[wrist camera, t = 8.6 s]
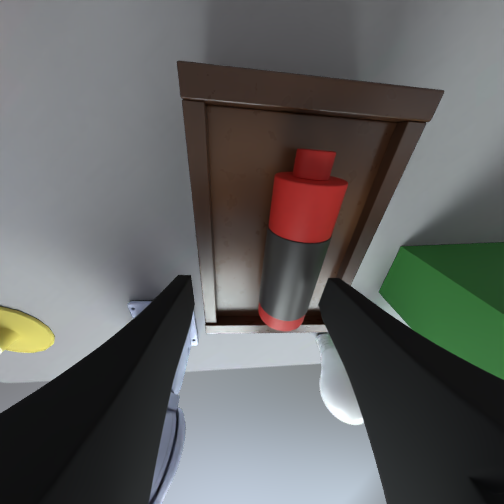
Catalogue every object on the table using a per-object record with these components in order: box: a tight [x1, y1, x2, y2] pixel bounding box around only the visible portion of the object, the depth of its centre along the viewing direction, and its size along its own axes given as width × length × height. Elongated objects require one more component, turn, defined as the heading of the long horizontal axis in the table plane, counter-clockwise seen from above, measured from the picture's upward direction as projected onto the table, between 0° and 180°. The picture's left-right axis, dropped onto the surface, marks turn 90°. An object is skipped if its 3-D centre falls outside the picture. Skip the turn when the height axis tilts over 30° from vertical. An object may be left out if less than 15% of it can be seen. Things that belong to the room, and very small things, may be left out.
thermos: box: [258, 149, 348, 331], centre depth 11 cm, size 11×4×4 cm, turn 176°
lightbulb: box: [315, 333, 364, 425], centre depth 25 cm, size 6×6×11 cm
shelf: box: [177, 61, 444, 334], centre depth 15 cm, size 18×12×7 cm, turn 176°
